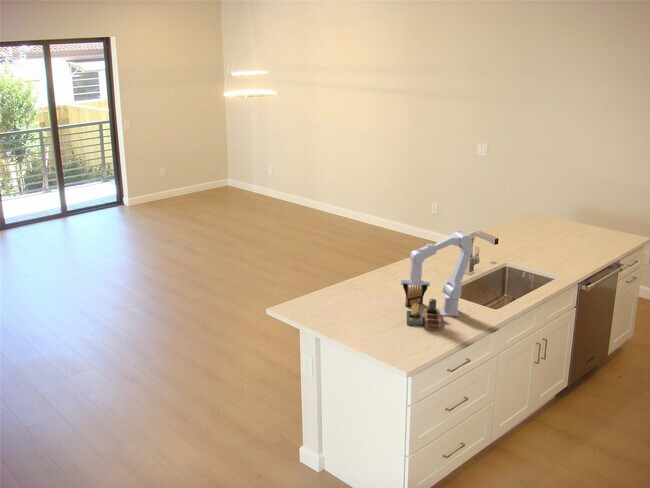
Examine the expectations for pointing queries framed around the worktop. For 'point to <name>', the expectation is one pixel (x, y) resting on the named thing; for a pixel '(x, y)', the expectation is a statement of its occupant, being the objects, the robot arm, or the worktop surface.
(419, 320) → the steel socket
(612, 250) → the worktop surface
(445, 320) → the worktop surface
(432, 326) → the walnut rack
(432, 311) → the black round bar
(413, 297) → the ammunition clip
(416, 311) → the brass round bar
